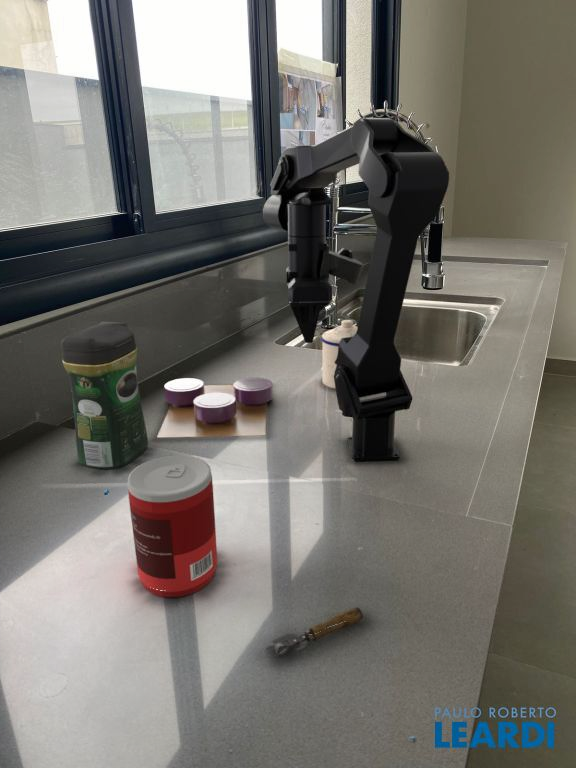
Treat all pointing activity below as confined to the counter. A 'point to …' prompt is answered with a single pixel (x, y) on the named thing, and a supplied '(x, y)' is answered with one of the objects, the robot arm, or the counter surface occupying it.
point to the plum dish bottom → (214, 407)
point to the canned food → (173, 524)
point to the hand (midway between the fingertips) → (307, 334)
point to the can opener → (316, 631)
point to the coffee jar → (105, 395)
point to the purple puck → (253, 391)
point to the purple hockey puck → (183, 391)
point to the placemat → (242, 424)
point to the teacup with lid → (334, 349)
